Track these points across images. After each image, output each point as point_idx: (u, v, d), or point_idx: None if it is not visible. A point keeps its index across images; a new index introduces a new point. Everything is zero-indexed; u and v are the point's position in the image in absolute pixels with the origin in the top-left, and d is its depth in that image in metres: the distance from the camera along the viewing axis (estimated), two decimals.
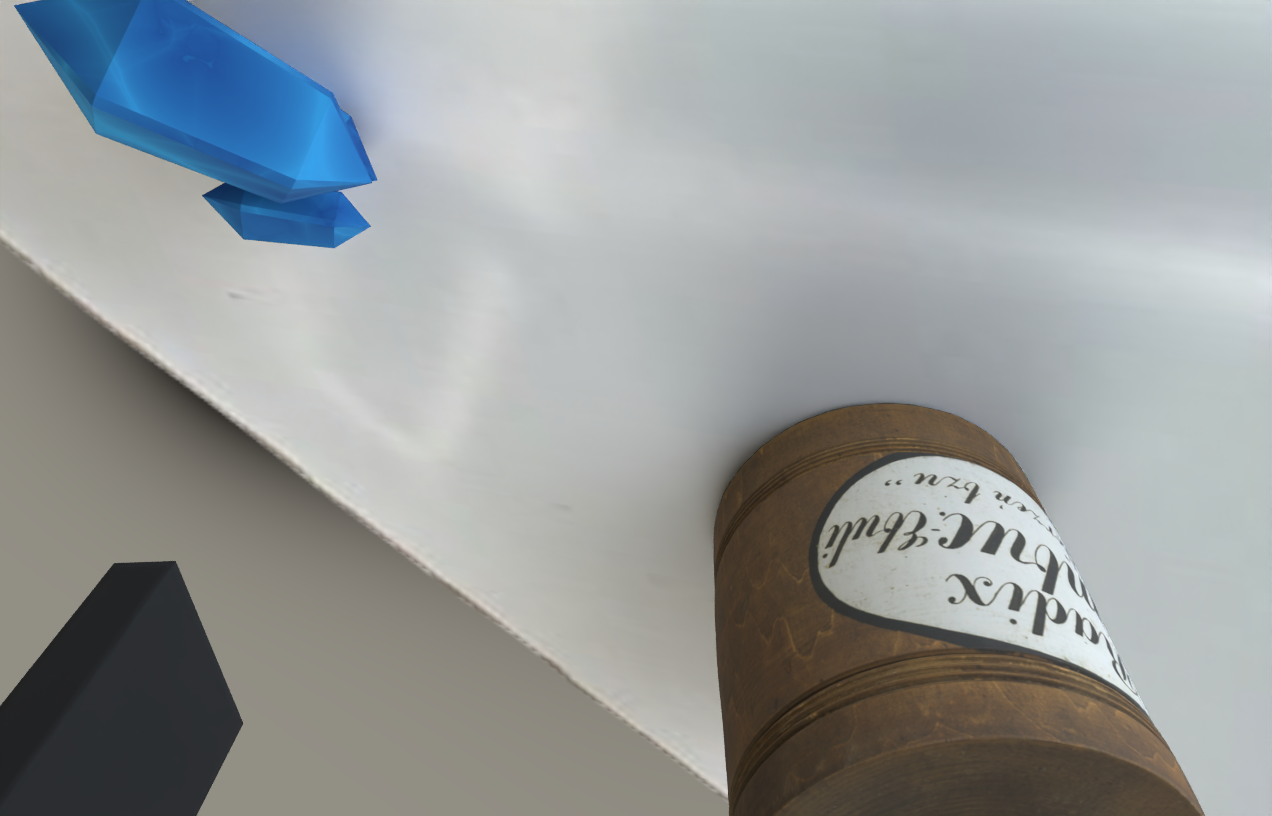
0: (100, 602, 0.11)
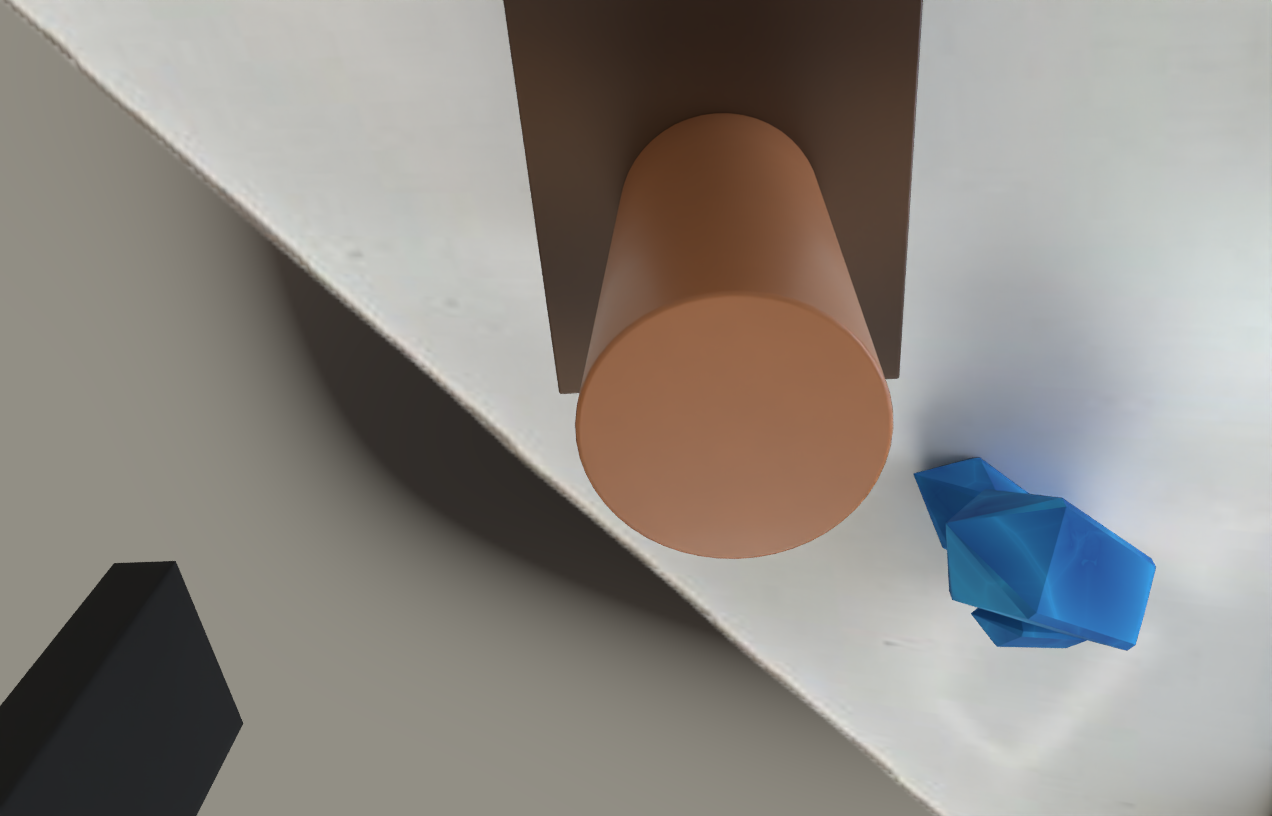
0: (101, 602, 0.11)
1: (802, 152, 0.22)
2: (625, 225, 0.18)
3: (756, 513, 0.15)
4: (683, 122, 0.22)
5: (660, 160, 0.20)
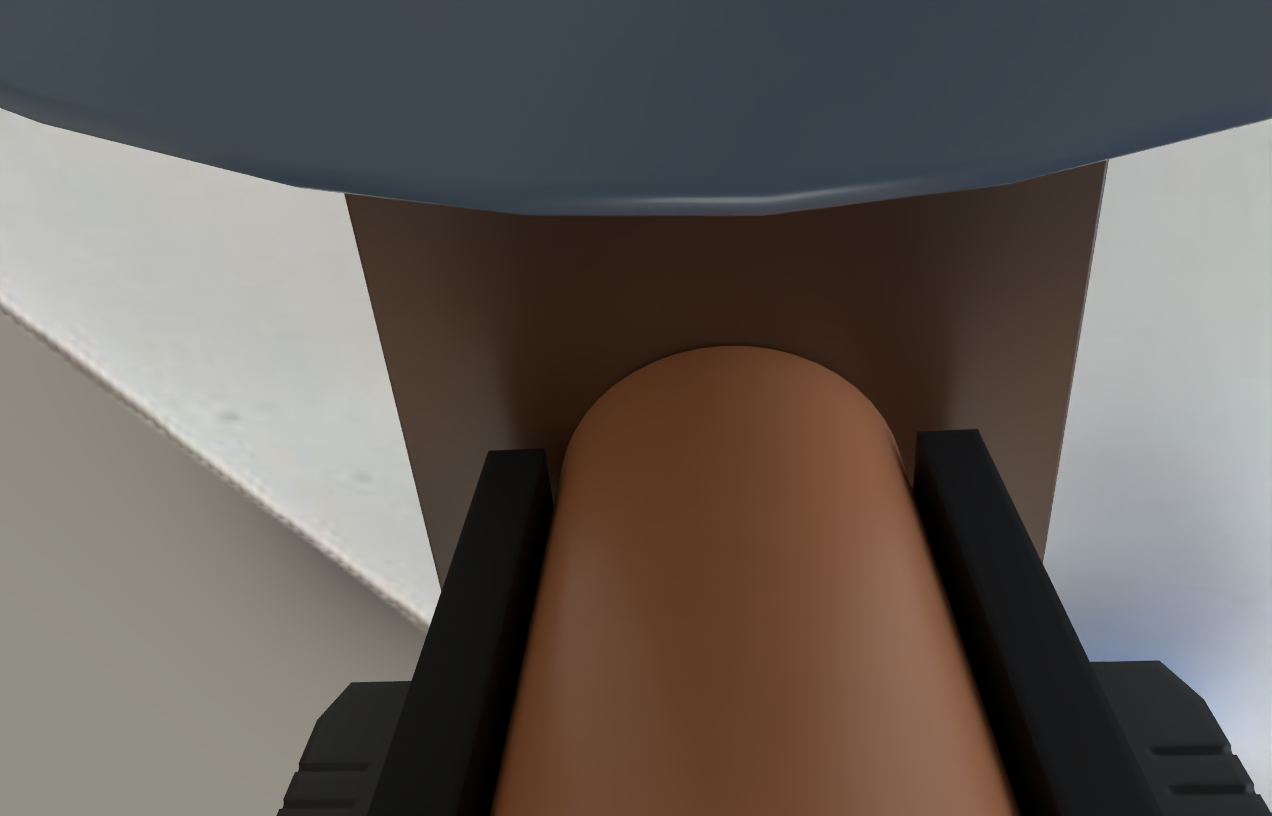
0: (494, 479, 0.12)
1: (875, 408, 0.13)
2: (542, 664, 0.09)
3: None
4: (666, 362, 0.12)
5: (621, 472, 0.11)
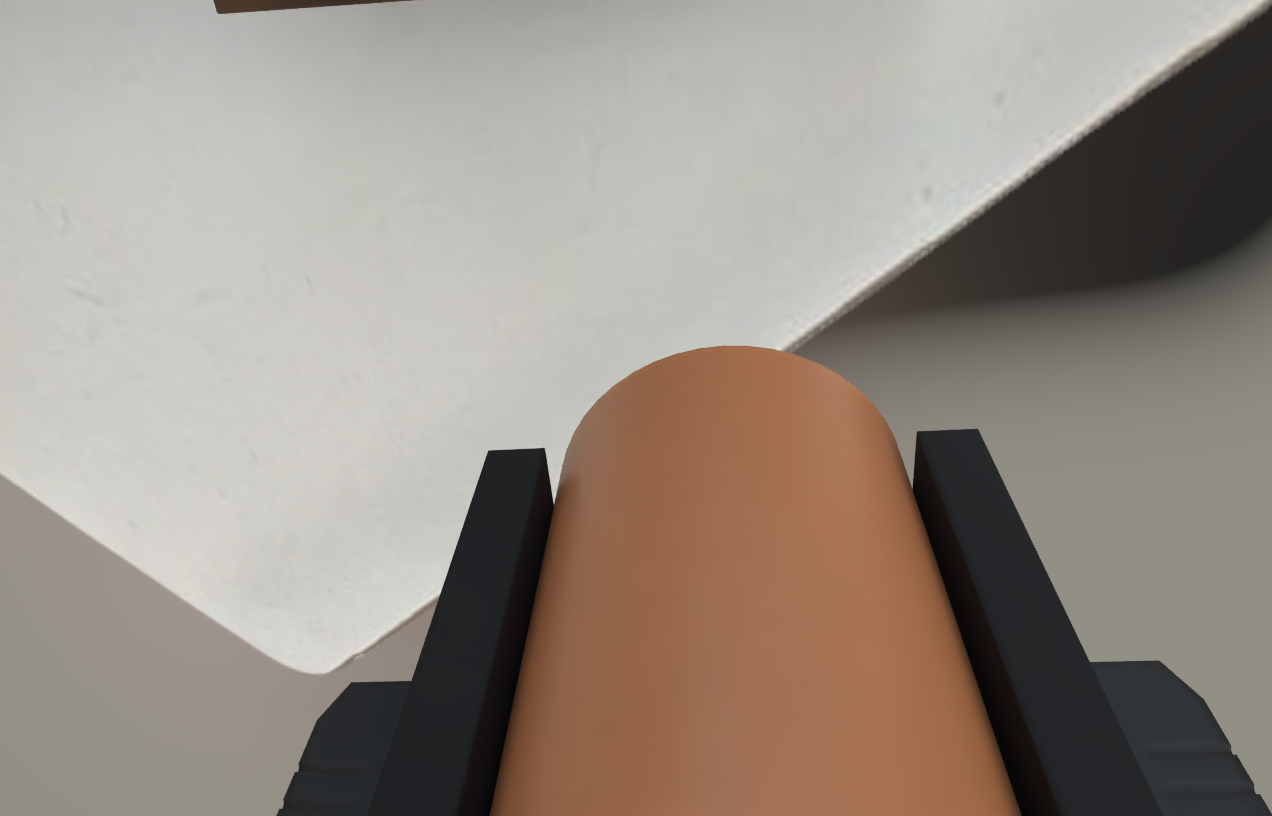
0: (495, 479, 0.12)
1: (875, 408, 0.13)
2: (542, 665, 0.09)
3: None
4: (666, 362, 0.12)
5: (621, 472, 0.11)
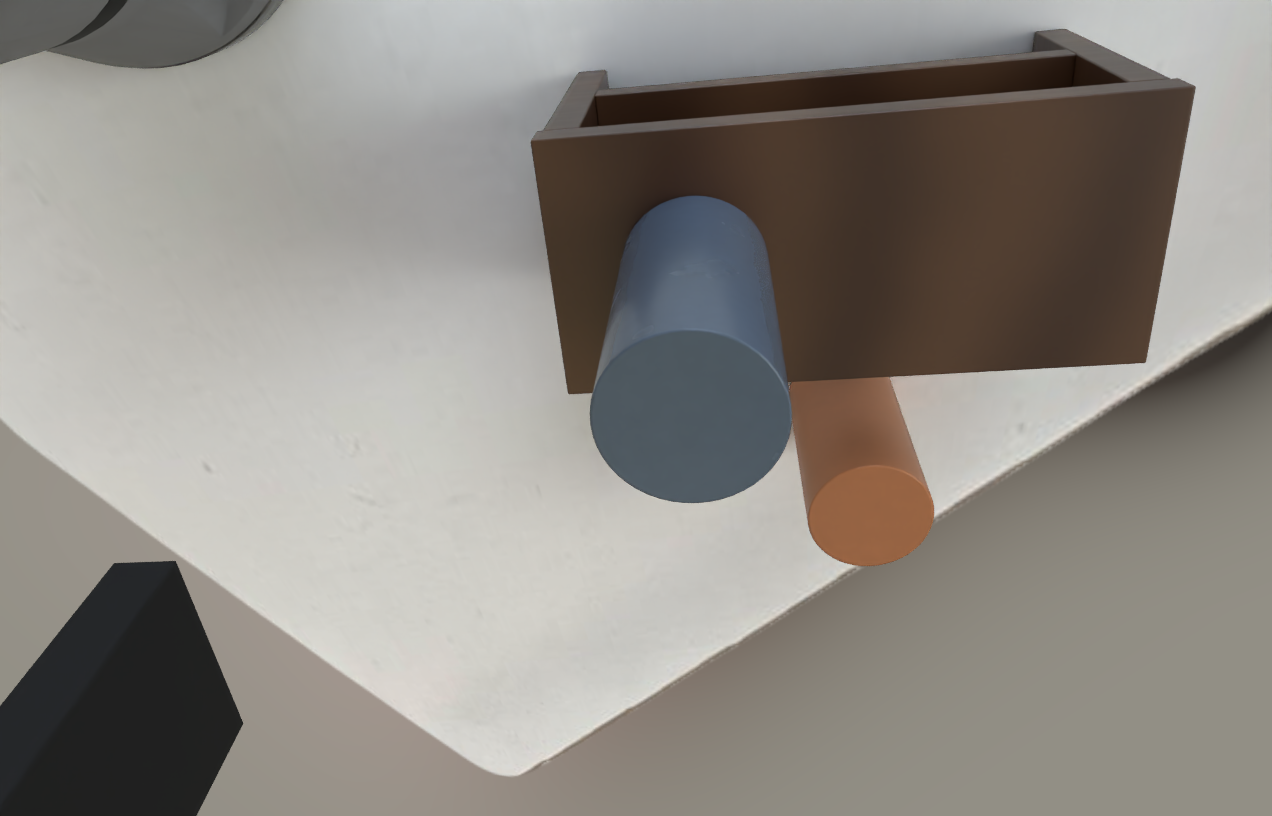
0: (101, 602, 0.11)
1: None
2: (809, 417, 0.41)
3: (878, 547, 0.38)
4: None
5: None
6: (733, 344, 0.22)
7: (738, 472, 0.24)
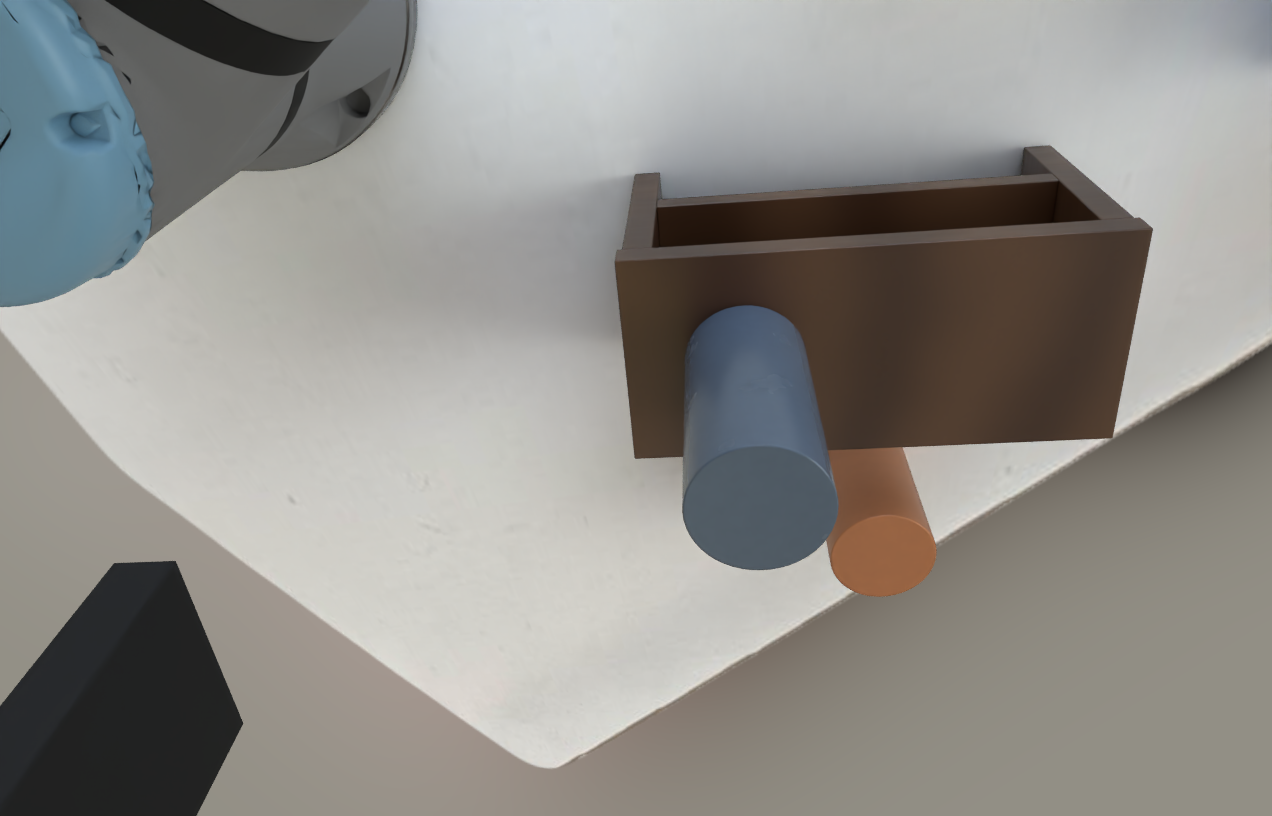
0: (99, 602, 0.11)
1: None
2: None
3: (889, 581, 0.45)
4: None
5: None
6: (796, 456, 0.29)
7: (795, 548, 0.30)
